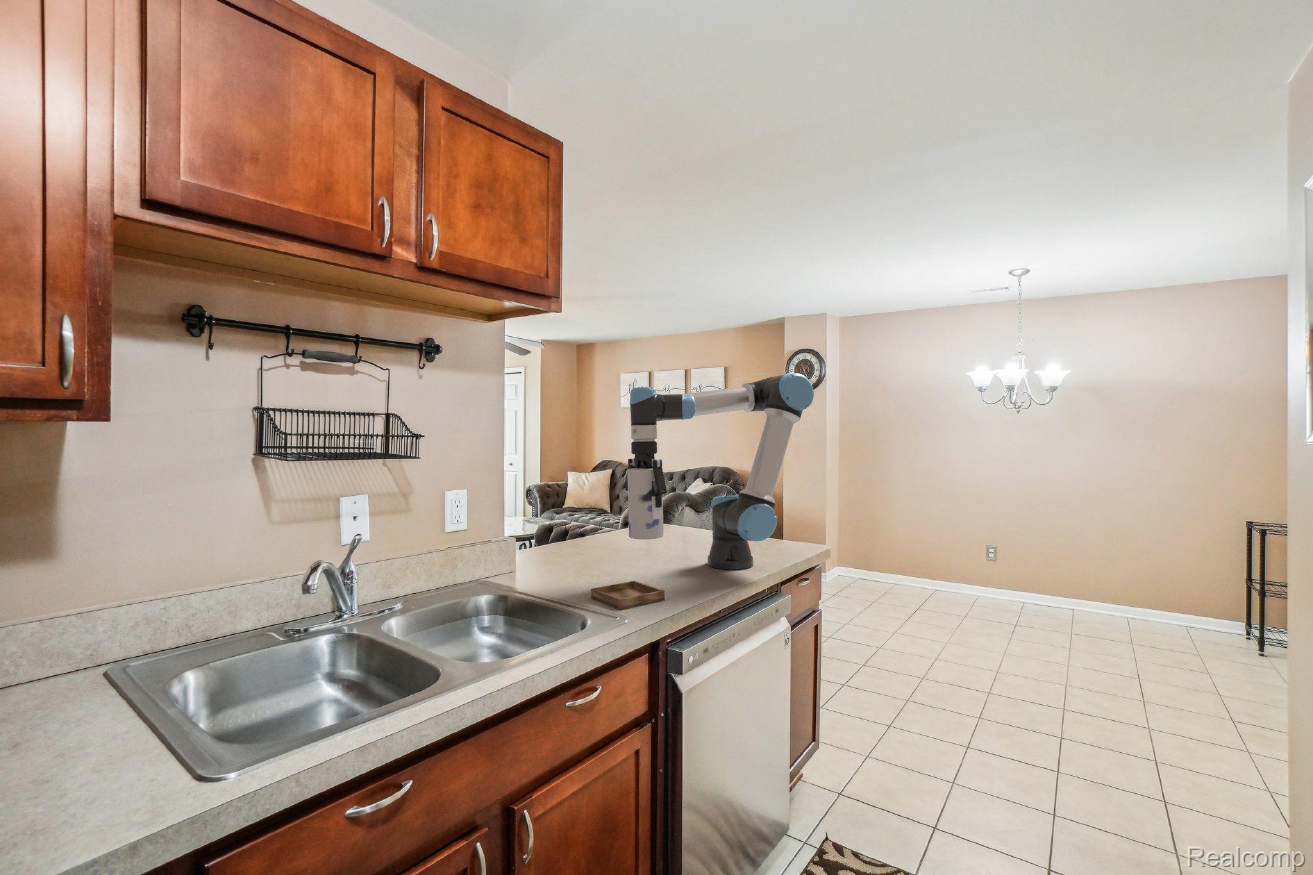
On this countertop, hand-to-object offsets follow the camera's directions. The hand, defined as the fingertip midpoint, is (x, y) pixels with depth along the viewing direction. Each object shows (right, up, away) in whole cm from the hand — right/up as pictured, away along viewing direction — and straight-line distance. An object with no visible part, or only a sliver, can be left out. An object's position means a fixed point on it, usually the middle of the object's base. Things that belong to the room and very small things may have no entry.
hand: (645, 517), depth 173 cm
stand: (-5, -20, -16) cm, 26 cm away
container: (0, -6, 0) cm, 6 cm away
